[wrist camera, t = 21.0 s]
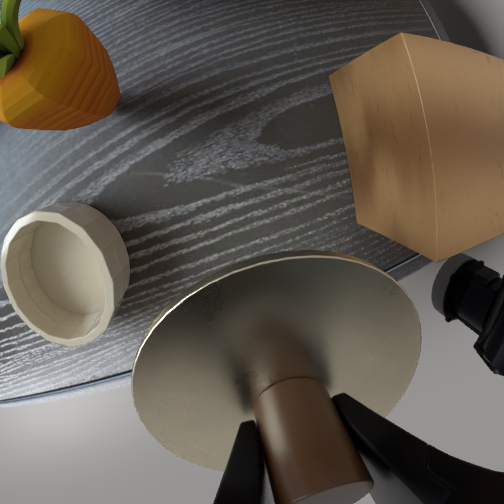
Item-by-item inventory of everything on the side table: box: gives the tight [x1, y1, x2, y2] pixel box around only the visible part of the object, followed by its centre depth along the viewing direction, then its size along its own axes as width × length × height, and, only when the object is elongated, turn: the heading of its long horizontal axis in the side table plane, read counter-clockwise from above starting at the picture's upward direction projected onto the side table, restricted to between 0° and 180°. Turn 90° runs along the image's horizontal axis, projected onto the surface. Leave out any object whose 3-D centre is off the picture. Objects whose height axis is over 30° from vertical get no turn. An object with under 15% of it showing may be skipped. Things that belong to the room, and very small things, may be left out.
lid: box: [131, 250, 422, 504], centre depth 7 cm, size 10×10×4 cm
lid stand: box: [329, 33, 504, 262], centre depth 15 cm, size 11×11×9 cm
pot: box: [0, 202, 130, 346], centre depth 16 cm, size 9×9×4 cm
